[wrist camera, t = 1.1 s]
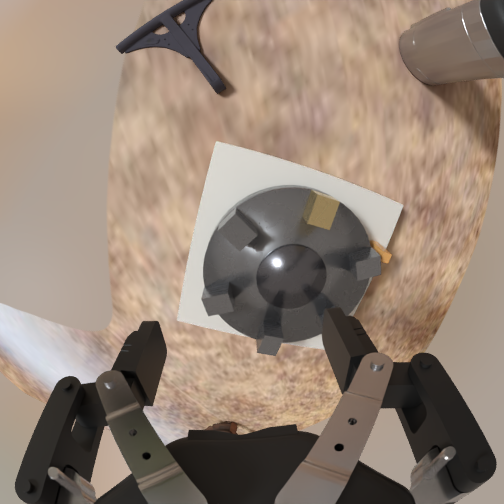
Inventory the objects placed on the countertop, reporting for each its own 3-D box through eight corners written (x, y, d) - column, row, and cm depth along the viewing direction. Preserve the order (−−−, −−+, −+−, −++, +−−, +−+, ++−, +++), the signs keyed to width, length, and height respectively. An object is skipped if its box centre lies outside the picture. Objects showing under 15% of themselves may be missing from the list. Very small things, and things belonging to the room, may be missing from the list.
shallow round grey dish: (229, 163, 28) (225, 167, 24) (387, 215, 31) (407, 227, 26) (192, 313, 36) (186, 337, 31) (327, 340, 38) (336, 363, 34)
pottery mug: (192, 428, 54) (190, 445, 46) (217, 404, 56) (218, 419, 47) (231, 452, 54) (233, 470, 46) (255, 429, 56) (261, 446, 48)
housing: (218, 141, 30) (211, 141, 24) (392, 199, 33) (420, 213, 27) (180, 308, 39) (170, 338, 33) (328, 338, 42) (339, 368, 36)
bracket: (173, 125, 30) (166, 124, 27) (118, 48, 25) (110, 42, 22) (273, 64, 27) (275, 58, 25) (210, -10, 22) (208, -20, 20)
